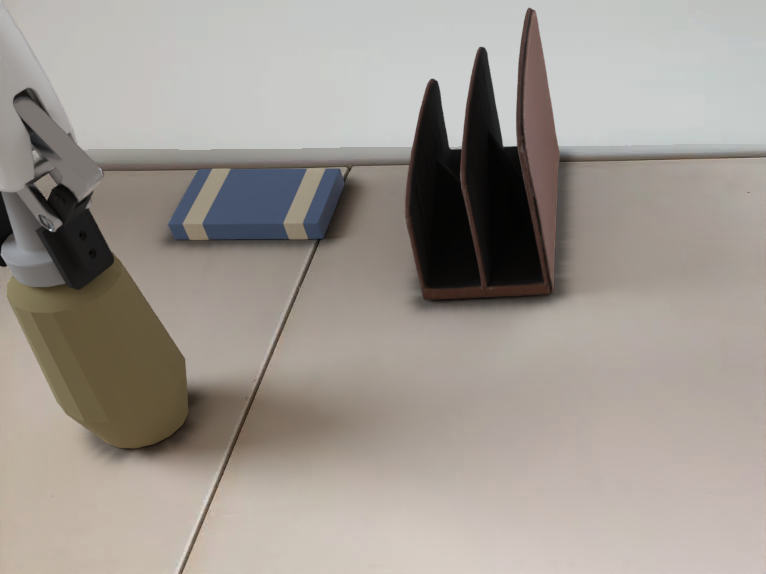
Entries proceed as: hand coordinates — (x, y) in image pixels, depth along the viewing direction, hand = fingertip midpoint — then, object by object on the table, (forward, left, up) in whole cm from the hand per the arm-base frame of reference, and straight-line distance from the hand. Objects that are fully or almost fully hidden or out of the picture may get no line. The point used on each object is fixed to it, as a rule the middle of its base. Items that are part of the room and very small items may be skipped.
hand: (54, 261), depth 63 cm
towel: (-19, +16, -13) cm, 28 cm away
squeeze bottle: (0, 0, -13) cm, 13 cm away
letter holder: (-6, +30, -13) cm, 34 cm away
